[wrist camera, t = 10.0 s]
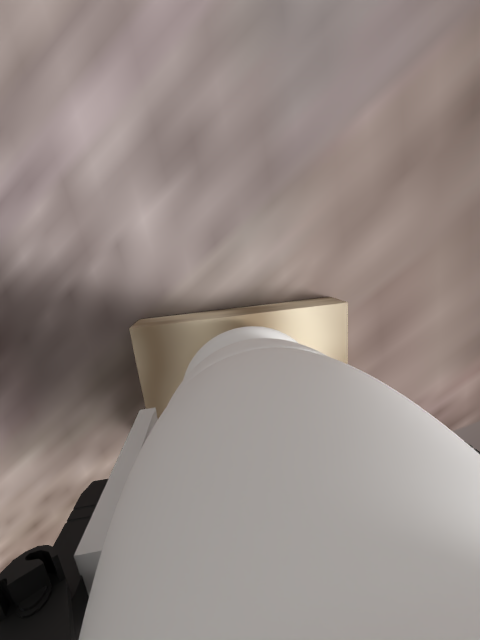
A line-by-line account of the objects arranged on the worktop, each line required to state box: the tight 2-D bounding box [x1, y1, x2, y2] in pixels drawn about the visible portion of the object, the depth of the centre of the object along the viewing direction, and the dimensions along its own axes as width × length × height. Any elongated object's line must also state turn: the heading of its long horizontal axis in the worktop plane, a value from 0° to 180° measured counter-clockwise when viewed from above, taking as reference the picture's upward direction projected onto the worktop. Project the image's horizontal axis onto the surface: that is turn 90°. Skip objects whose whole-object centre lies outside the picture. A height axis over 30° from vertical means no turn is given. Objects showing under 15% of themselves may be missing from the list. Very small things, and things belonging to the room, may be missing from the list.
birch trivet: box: [129, 297, 348, 419], centre depth 19 cm, size 14×9×2 cm, turn 96°
